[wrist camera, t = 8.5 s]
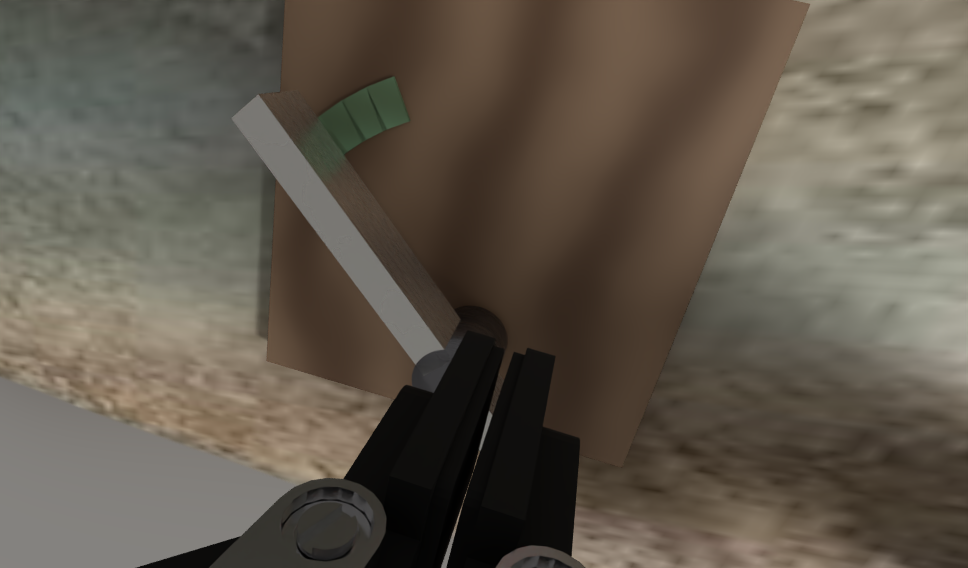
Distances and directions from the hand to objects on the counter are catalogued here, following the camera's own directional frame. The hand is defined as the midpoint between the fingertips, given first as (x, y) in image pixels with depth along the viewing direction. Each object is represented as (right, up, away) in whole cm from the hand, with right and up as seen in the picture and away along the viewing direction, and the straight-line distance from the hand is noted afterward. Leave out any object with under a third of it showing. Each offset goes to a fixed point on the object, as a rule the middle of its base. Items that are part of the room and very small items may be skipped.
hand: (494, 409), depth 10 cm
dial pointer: (-4, +4, +17) cm, 18 cm away
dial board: (0, +6, +17) cm, 18 cm away
